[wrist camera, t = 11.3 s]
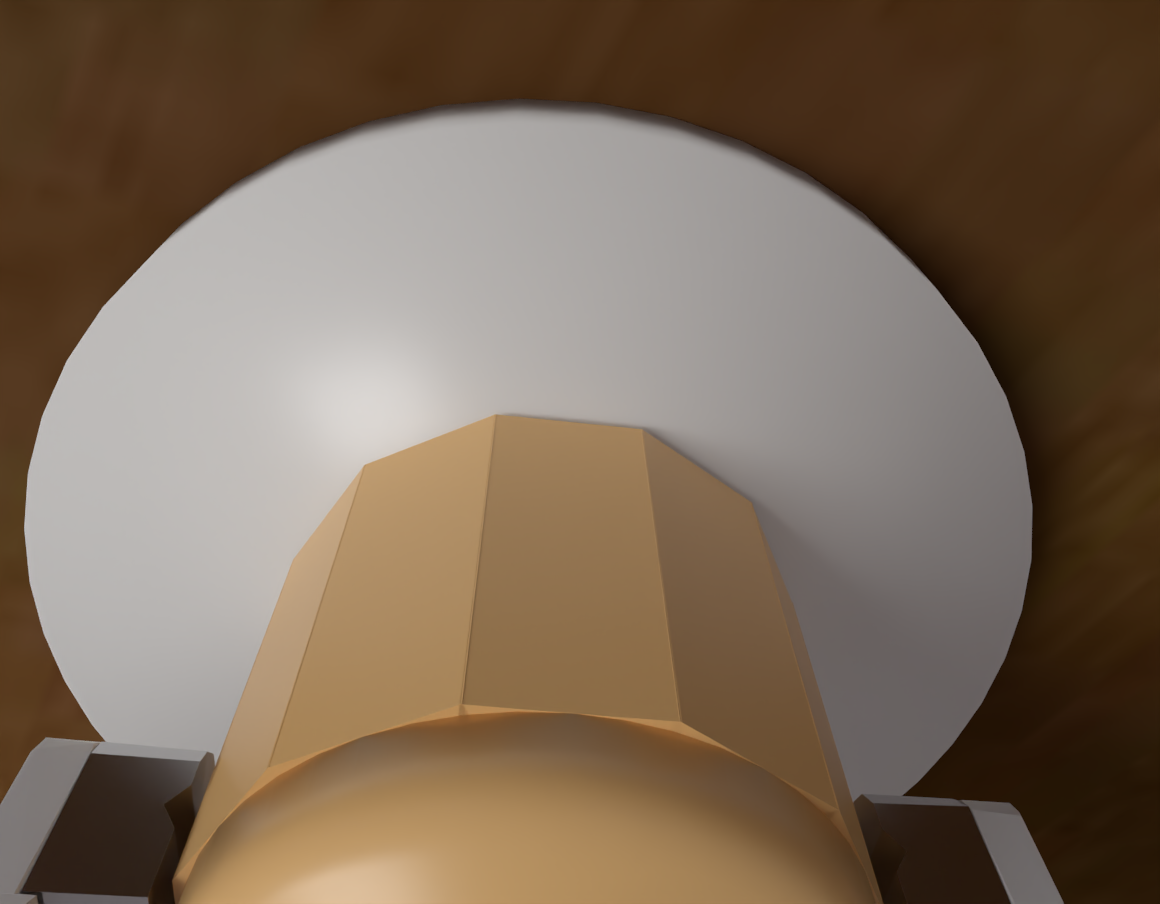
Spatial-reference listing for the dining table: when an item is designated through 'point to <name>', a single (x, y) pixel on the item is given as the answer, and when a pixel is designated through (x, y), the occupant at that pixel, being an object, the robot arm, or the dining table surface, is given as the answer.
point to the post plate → (530, 403)
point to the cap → (531, 695)
